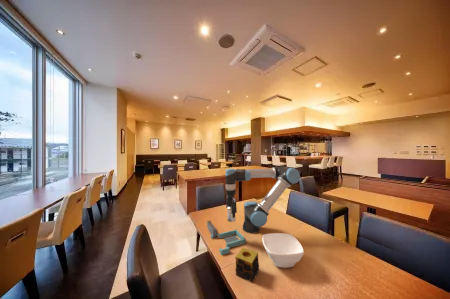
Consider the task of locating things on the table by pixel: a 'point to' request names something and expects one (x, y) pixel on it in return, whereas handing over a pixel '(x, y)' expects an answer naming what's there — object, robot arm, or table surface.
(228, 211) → the spigot
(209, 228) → the lock pin
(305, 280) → the table surface
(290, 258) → the bowl
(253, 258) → the candle
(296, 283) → the table surface
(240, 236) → the dock cradle
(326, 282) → the table surface
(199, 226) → the table surface
